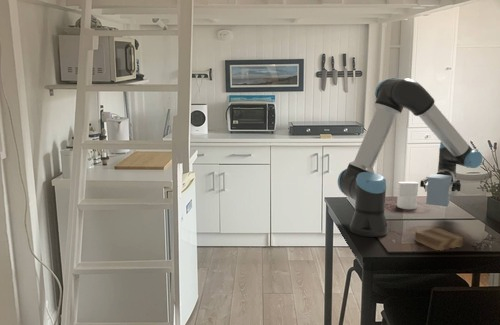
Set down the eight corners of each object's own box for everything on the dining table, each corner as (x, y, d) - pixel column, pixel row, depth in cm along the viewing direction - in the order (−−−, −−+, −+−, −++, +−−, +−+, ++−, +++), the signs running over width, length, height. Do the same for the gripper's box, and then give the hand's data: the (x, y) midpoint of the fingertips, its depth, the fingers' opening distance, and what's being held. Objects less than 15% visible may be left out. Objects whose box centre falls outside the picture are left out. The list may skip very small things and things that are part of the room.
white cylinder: (412, 204, 241) (414, 180, 239) (419, 209, 233) (421, 184, 230) (394, 204, 241) (396, 180, 239) (400, 209, 232) (402, 184, 230)
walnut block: (437, 251, 178) (438, 241, 178) (414, 241, 189) (415, 231, 188) (462, 247, 183) (463, 237, 182) (438, 237, 194) (439, 228, 193)
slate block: (447, 206, 192) (449, 179, 190) (426, 204, 195) (428, 177, 193) (449, 202, 199) (451, 175, 197) (428, 199, 202) (430, 173, 200)
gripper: (469, 190, 208) (465, 202, 188) (418, 184, 217) (409, 195, 197) (471, 172, 206) (467, 183, 186) (419, 168, 216) (410, 177, 196)
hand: (437, 189), depth 192 cm, fingers closed on slate block, 8 cm apart
